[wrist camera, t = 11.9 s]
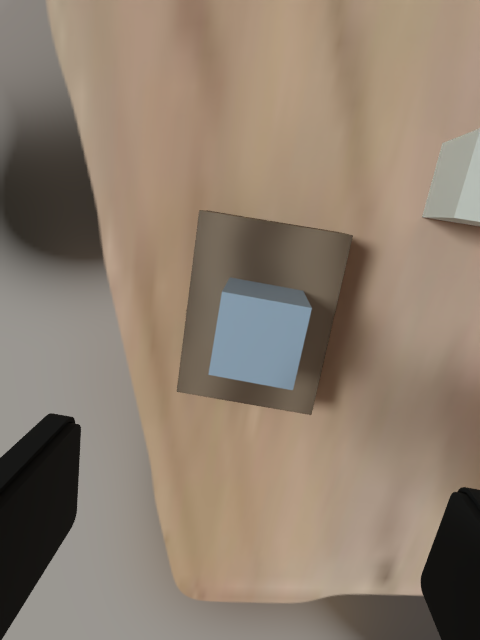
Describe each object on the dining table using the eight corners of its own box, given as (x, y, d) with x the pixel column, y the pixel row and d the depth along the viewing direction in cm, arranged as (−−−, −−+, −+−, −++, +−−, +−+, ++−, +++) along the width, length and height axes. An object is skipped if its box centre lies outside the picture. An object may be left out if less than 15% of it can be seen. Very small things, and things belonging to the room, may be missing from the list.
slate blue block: (303, 290, 26) (311, 308, 21) (287, 359, 27) (293, 390, 23) (229, 277, 26) (221, 291, 21) (218, 346, 28) (208, 374, 23)
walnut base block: (340, 232, 29) (352, 235, 25) (305, 391, 32) (311, 414, 28) (208, 210, 29) (199, 210, 25) (187, 370, 32) (176, 391, 29)
